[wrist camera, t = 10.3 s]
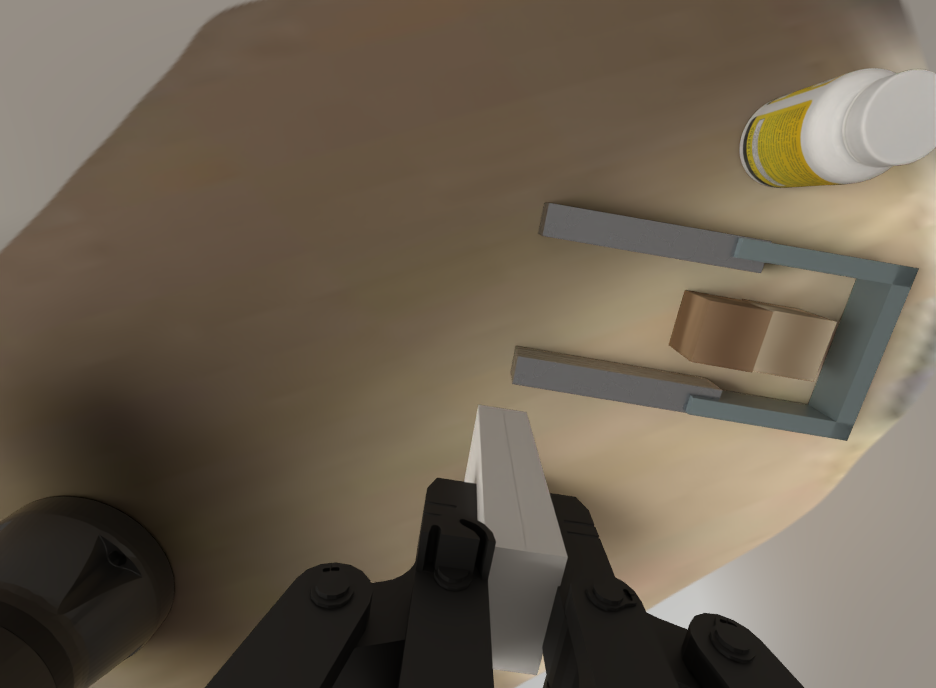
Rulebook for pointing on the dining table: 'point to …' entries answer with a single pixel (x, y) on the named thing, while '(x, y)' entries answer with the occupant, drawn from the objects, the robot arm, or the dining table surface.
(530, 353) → the slot rails
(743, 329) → the brown cube
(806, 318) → the beige cube
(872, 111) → the supplement bottle
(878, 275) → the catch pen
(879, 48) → the dining table surface
